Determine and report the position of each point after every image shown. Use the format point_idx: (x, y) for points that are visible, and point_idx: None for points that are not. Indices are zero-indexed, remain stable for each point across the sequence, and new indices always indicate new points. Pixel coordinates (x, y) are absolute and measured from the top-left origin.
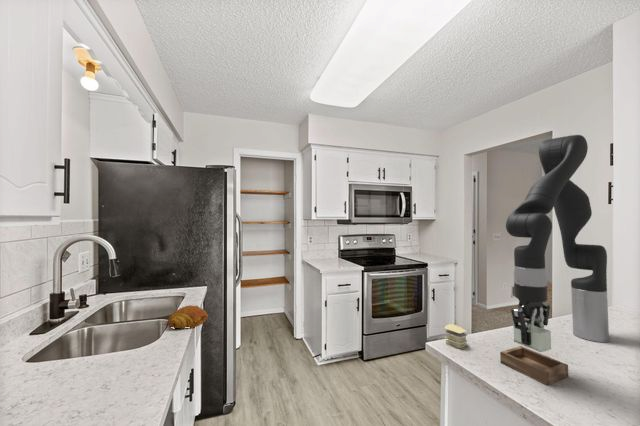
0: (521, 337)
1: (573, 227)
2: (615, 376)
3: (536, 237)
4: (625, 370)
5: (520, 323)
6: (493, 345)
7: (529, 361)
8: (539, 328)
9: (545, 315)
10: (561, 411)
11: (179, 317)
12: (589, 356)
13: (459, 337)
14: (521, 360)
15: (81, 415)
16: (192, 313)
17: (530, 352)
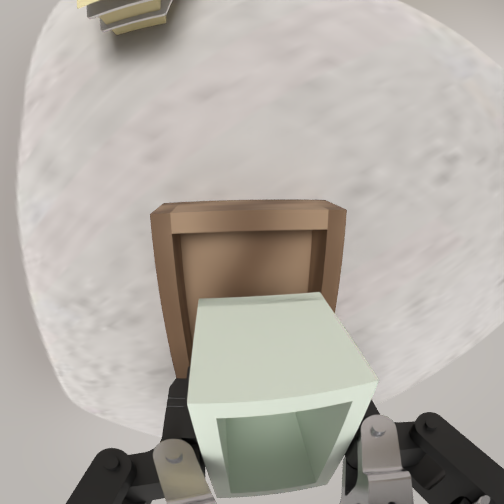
0: (168, 402)
1: None
2: (408, 371)
3: None
4: (450, 355)
5: (164, 491)
6: (313, 67)
7: (283, 267)
8: (324, 463)
9: (428, 499)
10: (118, 410)
11: None
12: (478, 291)
13: (88, 16)
14: (173, 317)
15: None
16: None
17: (322, 268)
